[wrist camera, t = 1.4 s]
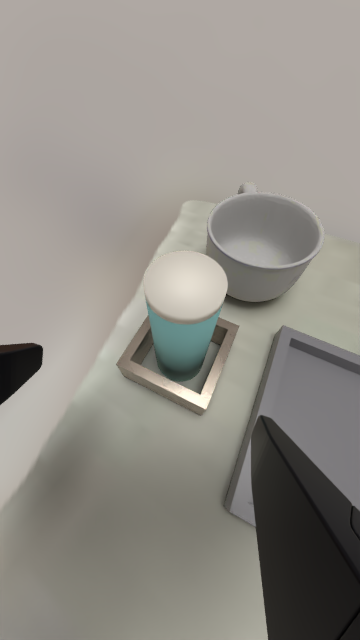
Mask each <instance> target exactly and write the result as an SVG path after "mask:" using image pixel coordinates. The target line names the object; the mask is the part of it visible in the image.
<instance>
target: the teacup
mask: <svg viewBox="0 0 360 640" xmlns="http://www.w3.org/2000/svg"><path fill="white" fill-rule="evenodd" d="M207 232H208V235H207V250H206V255H207V256H208V257H210V258H212V259H213V260H215V261H216V262H217V263H218V264H219V265H220V266H221V267H222V269H223V270H224V272H225V274H226V277H227V281H228V288H227V293H226V294H228V295H230V296H231V297H234V298H236V299H240V300H243V301H250V302H261V301H267V300H271V299H274V298H276V297H278V296H280V295H282V294H283V293H285V292H286V291H287V290H289V289H290V288H291V287H292V286H293V285H294V283H295V282H296V281H297V280H298V278H299V277H300V276H301V274H302V273H303V272H304V270H305V269H306V267H307V266H308V265H309V263H310V261H311V260H312V258H314V257H315V256H316V255H317V253H318V252H319V251H320V249H321V247H322V245H323V242H324V229H323V225H322V223H321V222H320V220H319V218H318V217H317V216H316V215H315V214H314V212H313V211H312V210H310V209H309V208H308V207H307V206H305V205H304V204H302V203H300V202H299V201H297V200H295V199H292V198H290V197H287V196H284V195H280V194H275V193H265V192H257V187H256V185H255V184H254V183H251V182H248V183H244V184H242V185H241V186H240V188H239V191H238V195H234V196H232V197H229V198H227V199H225V200H223V201H222V202H220V203H219V204H218V205H216V206H215V207H214V209H213V210H212V211H211V213H210V215H209V218H208V222H207Z"/></svg>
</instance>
